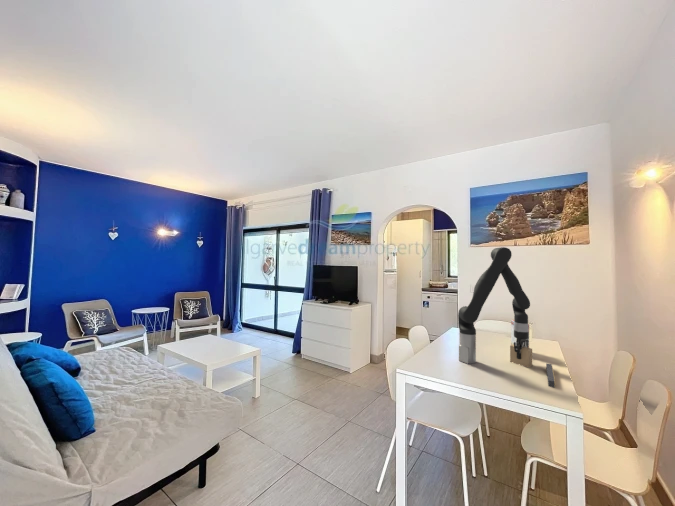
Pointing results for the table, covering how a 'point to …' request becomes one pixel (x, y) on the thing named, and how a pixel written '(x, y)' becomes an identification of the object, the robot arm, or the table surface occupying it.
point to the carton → (525, 356)
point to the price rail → (550, 375)
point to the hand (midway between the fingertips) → (521, 357)
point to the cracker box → (513, 334)
